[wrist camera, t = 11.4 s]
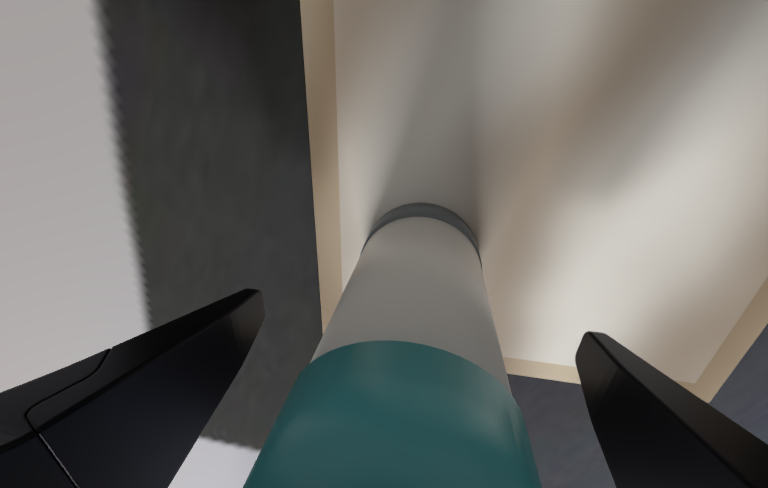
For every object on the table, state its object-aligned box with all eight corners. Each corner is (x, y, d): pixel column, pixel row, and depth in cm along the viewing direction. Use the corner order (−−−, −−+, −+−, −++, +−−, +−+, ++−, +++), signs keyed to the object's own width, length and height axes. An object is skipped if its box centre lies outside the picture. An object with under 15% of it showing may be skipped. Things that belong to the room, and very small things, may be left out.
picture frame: (1434, -655, 4) (1580, -765, 4) (699, 391, 13) (710, 404, 12) (278, -443, 6) (263, -493, 6) (327, 339, 15) (322, 348, 14)
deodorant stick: (489, 206, 10) (664, 609, 2) (470, 308, 12) (529, 729, 4) (365, 196, 11) (157, 497, 3) (364, 295, 13) (237, 648, 5)
